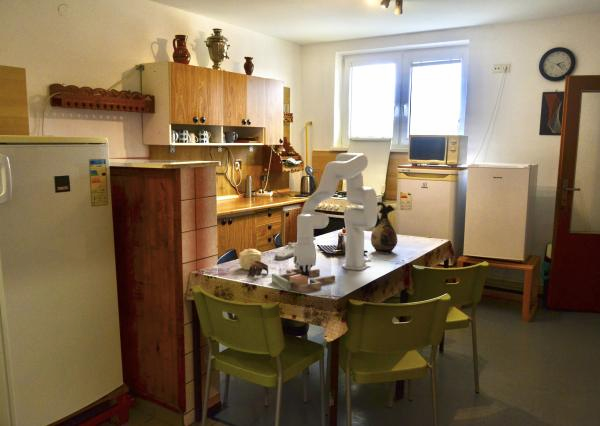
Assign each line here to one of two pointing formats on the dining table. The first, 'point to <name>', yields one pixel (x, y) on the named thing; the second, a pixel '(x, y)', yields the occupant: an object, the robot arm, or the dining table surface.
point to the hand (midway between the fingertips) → (305, 279)
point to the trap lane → (314, 284)
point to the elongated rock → (286, 252)
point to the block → (299, 279)
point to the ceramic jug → (384, 232)
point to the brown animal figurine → (257, 268)
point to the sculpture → (249, 258)
